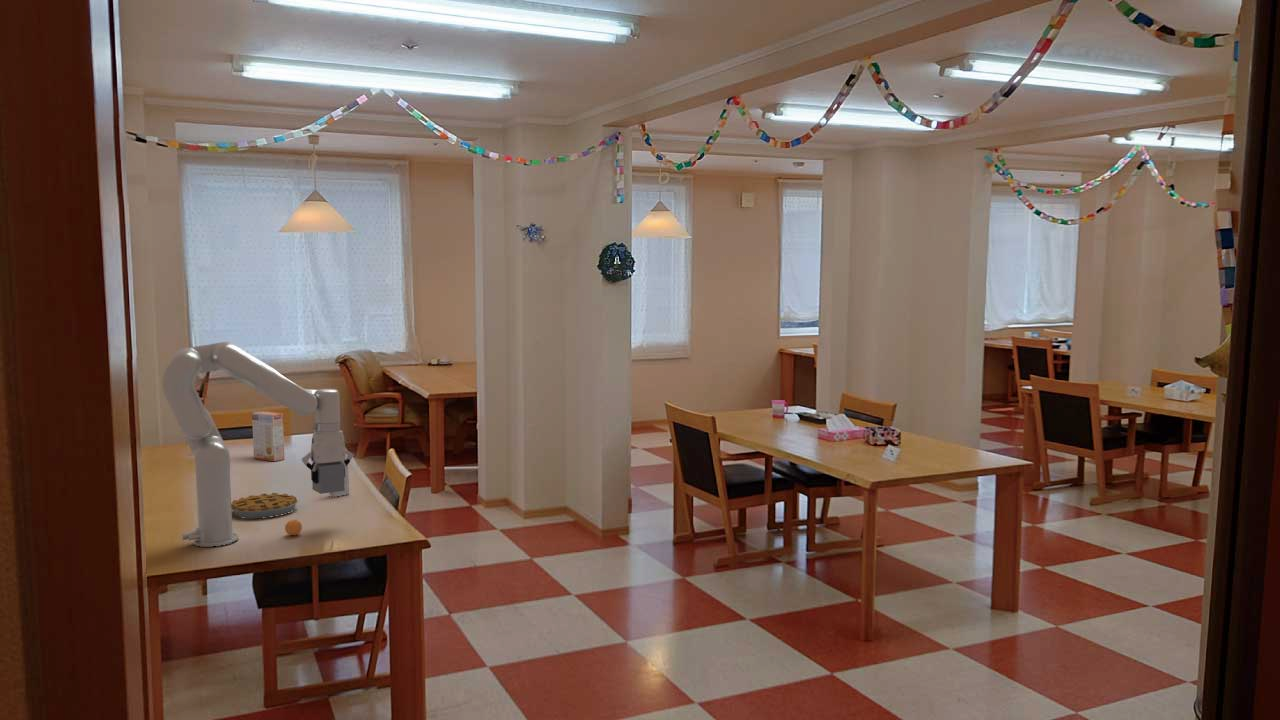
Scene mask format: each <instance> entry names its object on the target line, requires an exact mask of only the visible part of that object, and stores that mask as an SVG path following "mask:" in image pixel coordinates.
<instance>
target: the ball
mask: <svg viewBox="0 0 1280 720" xmlns="http://www.w3.org/2000/svg"><path fill="white" fill-rule="evenodd" d="M302 528H303V526H302V523H301V522H300V520H297V519H291V520H290V519H289V520H288V521H287V522H286V523H285V525H284V529H285V532H286V534H287V535H289V536H292V535H294V536H297V535H299V534H300V533H301V531H302ZM296 534H297V535H296Z"/></svg>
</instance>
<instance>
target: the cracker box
mask: <svg viewBox="0 0 1280 720" xmlns="http://www.w3.org/2000/svg"><path fill="white" fill-rule="evenodd" d="M251 418H252V421H251V422H252V423H251V424H252V446H253V459H254V460H261V461H266V460H267V461H268V462H272V461H275V462H279V461H284V460H285V443H284V442H285V440H284V439H285V438H284V419H283V418H284V414H283V413H282V412H273V411H263V410H261V411H254V412H252V413H251ZM267 461H266V462H267Z"/></svg>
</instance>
